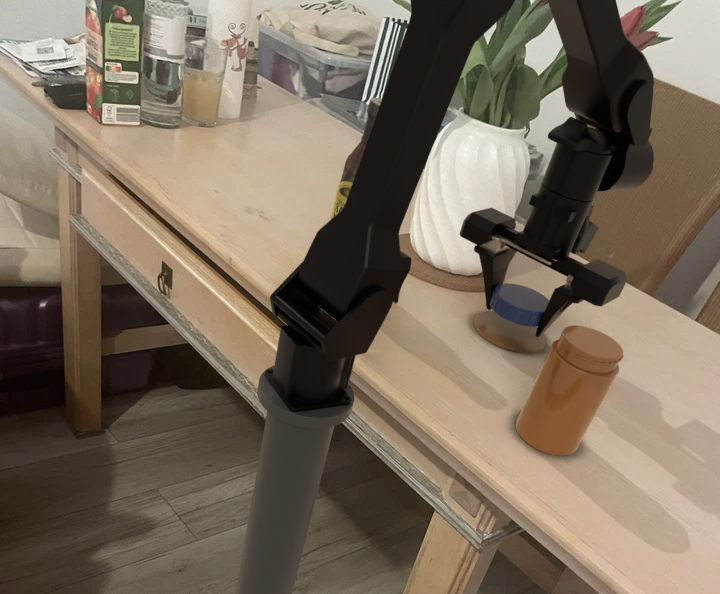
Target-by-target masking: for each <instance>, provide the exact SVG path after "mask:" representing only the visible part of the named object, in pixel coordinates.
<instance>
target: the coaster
mask: <svg viewBox="0 0 720 594" xmlns="http://www.w3.org/2000/svg"><path fill="white" fill-rule="evenodd" d="M473 327H474V329H475V331H476V332H477V334H479V336H481V337H482V338H483V339H484V340H486V341H487V342H489V343H491V344H493V345H495V346H497V347H499V348H502V349H504V350H507V351H511V352H514V353H520V354H535V353H539V352H540V351H542V350H543V349H544V348H545V346H546V343H547V340H546V339H547V338H546V337H545V335H544V333H543V334H542V335H541V336H539V337H537V336H535V334H536V331H537V327H530V326H523V325H519V324H516V323H513V322H511V321H508V320H506V319H504V318H502V317H501V316H499V315H498V314H497V313H495V312H494V311H484V312H480V313H478V314H477V315H476V316H475V317H474V319H473Z"/></svg>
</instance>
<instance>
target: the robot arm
mask: <svg viewBox="0 0 720 594" xmlns="http://www.w3.org/2000/svg"><path fill="white" fill-rule="evenodd" d="M515 1H516V0H410V17H409V20H408V24H407V27H406V29H405V32H404V36H403V38H402V41H401V44H400V47H399V50H398V53H397V56H396V58H395V61H394V64H393V66H392V70H391V72H390V75H389V77H388V81H387V84H386V86H385V90H384V93H383V95H382V101H381V104H380V107H379V109H378V112H377V115H376V118H375V121H374V124H373V126H372V129H371V132H370V135H369V138H368V141H367V144H366V146H365V149H364V152H363V155H362V158H361V161H360V164H359V166H358V169H357V172H356V175H355V178H354V181H353V183H352V186H351V189H350V192H349V195H348V198H347V201H346V203H345V205H344V207H343V209H342V210H341V211H340V212H339V213H338V214H337V215H335V216H334V217H333V218H332V219H331V218H330V219H331V220H330V219H329V221H327V222H326V223H325V224H324V225H323V226H322V227H320V228H319V229H318V230H317V232H316V234H315V236H314V238H313V240H312V242H311V244H310V246H309V249H308V250H307V252H306V255H305V256H304V258H303V260H302V261H301V263H300V264H298V266H296V268H295V269H294V270H293V271H292V272H291V273H290V274H289V275H288V276H287V277H286V278H285V279H284V280H283V281H282V282H281V283H280V285H278V287H277V288H275V290H274V291H273V292H272V293H271V294H270V295H269V301H270V307H271V313H272V315H274V316H275V317H276V318H278V319H280V320H281V321H282V322H283V323H284V324H286V325H281V326H280V330H279V337H278V343H277V347H276V354H275V360H274V365H273V366H274V369H268V368H266V369H264V371H265V373H264V376H265V377H266V379H267V380H268V381H269V383H270V384H271V385H272V387H273V388H274V390H275V391H276V392H277V394H278V395H279V396H280V398H281V399H282V401H283V402H284V403H285V405H286V406H287V407H288V409H289V410H290V411H292V412H302V411H309V410H316V409H323V408H330V407H338V406H345V405H350V404H351V400H352V399H351V397H350V396H349V395H348V394H347V393H346V391H345V390H344V389H345V388H347V387H348V384H349V383H350V380H351V376H352V372H353V368H354V365H355V361H356V356H359V355H362V354H366V353H368V351H369V349H370V347H371V345H372V343H373V342H374V340H375V338H376V336H377V334H378V333H379V331H380V329H381V327H382V326H383V323H384V322H385V320H386V318H387V317H388V314H389V313H390V310H391V308H392V306H393V303H394V304H398V303H399V300H400V293H401V289H402V286H403V284H404V282H405V280H406V278H407V277H408V275H409V273H410V271H411V269H412V258H411V257H410V256H409V255H407V253H405V252H403V251H402V250H401V244H400V230H401V227H402V225H403V222H404V219H405V217H406V214H407V212H408V209H409V207H410V204H411V203H412V200H413V197H414V194H415V192H416V189H417V187H418V184H419V181H420V179H421V177H422V174H423V172H424V169H425V167H426V165H427V162H428V160H429V156H430V154H431V151H432V149H433V146H434V144H435V143H436V140H437V137H438V134H439V131H440V129H441V127H442V124H443V121H444V119H445V117H446V114H447V111H448V109H449V106H450V105H451V102H452V99H453V96H454V94H455V92H456V89H457V87H458V84H459V82H460V79H461V77H462V75H463V71H464V69H465V66H466V64H467V62H468V58H469V56H470V54H471V51H472V49H473V47H474V45H475V43H476V42H477V41H478V40H479V39H480V38H481V37H482V36H484V35H485V34H486V33H487V32H488V31H489V30H490V29H491V28H492V27H493V26H494V25H495V24H497V22H499V21H500V20H501V19H502V18H503V17H504V16H505V15H506V14H507V13H508V12H509V11H510V10H511V9H512V8H513V5H514V3H515ZM547 3H548V6H549V9H550V12H551V14H552V17H553V20H554V24H555V26H556V29H557V32H558V35H559V38H560V41H561V43H562V46H563V49H564V52H565V56H566V61H567V63H566V65H565V68H564V70H563V71H562V73H561V85H562V91H563V97H564V103H565V107H566V108H567V110H568V111H569V112H571V113H573V115H574V116H575V117H573V116H569V117H568V118H567V119H566V120H565V121H564V122H563V123H561V124H559V125H556V126H555V127H553V129H551V130H550V131H549V132H548V134H547V139H548V140H550V141H552V142H554V143H555V146H554V149H553V152H552V154H551V157H550V160H549V162H548V164H547V166H546V170H545V173H544V175H543V178H542V180H541V183H540V185H539V188H538V191H537V193H534V194H531V196H530V200H529V202H528V205H530V206H531V209H530V212H529V214H528V217H527V220H526V222H525V225H524V227H523V230H521V231H518V230H516V227H517V222H516V218H514V217H513V216H510V215H507V214H506V213H503V212H502V211H500V210H498V209H496V208H493V207H488V208H483V209H479V210H475V211H472V212H470V213H469V214H468V215H466V217H465V218H464V219H463V221H462V225H461V228H460V231H459V236H460V238H462V239H465V240H466V241H468V242H470V243H472V244H474V247H473V252H474V253H476V254H478V257H479V261H480V266H481V271H482V277H483V284H484V285H483V286H484V296H485V297H484V298H485V308H486V310H488V311H490V310H492V308H491V307H490V299H491V297H492V294H493V291H494V290H495V288H496V286H497V285H499V284H504V281H505V278H506V275H507V273H508V269H509V266H510V263H511V262H512V260H513V259H514V257H515V256H516V254H517V253H520V254H521V255H523V256H526V257H527V258H529V259H531V260H533V261H535V262H537V263H539V264H541V265H543V266H545V267H546V268H549V269H551V270H552V271H555V272H557V273H559V274H561V275H563V276H565V277H566V279H565V284H562V285H559V286H558V287H555V288H554V290H553V291H552V294H551V296H550V298H549V299H548V300H549V303H548V305H547V307H546V309H545V311H544V314H543V316H542V318H541V320H540V322H539V324H538V326H537V327H536V328H537V331H536V334H535V336H537V337H539V336H541V335H542V334H543V335H544V333H545V332H547V330H548V329H549V328H550V327H551V326H552V325H553V324H554V323H555V322H556V321H557V319H559V317H561V315H562V314H563V313H564V312H565V311H566V310H567V309H568V308H569V307H570V306H571V305H572V304H576V305H577V304H580V303H582V302H584V301H585V302H587V303H589V304H590V305H593V306H595V307H596V306H597V307H603V306H605V305H607V304H608V303H611V302H612V301H614V300H616V299H618V298H619V297H620V296H621V293H622V292H623V290H624V288H625V286H626V283H627V276H626V272H625V271H623V270H621V269H619V268H617V267H615V266H613V265H611V264H609V263H607V262H605V261H603V260H601V259H599V258H596V259H595V260H592V261H589V262H588V263H587V262H586V263H583V262H581V261H579V260H577V259H575V258H573V257H571V256H570V254H573V255H576V254H577V255H578V254H579V253H581V254H586V252H587V250H588V248H589V247H590V245H591V243H592V241H593V239H594V238H595V236H596V235H597V232H598V231H599V227H598V226H597V225H596V224H595V223H594V222H593V221H591V220H590V219H591V216H592V214H593V210H594V205H592V204H593V202H594V200H595V197H596V194H597V192H613V191H629V190H634V189H636V188H639V187H640V186H641V185H643V184H645V182H646V181H647V180H648V178H650V175H651V174H652V173H653V169H654V162H655V152H654V149H653V146H652V143H651V142H650V136H651V134H652V131H653V128H652V127H651V119H652V109H653V100H654V86H655V79H654V72H653V69H652V68H651V65H650V63H649V61H648V59H647V58H646V56H645V53H643V52H642V51H641V50H640V49H639V48H638V47H637V46H636V45H635V44H634V43H633V42H632V41H631V40H629V38H628V37H627V34H626V33H625V31H624V27H623V23H622V20H621V19H622V18H621V14H620V11H619V7H618V3H617V0H547ZM349 385H350V384H349Z"/></svg>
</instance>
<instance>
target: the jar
mask: <svg viewBox="0 0 720 594" xmlns="http://www.w3.org/2000/svg"><path fill="white" fill-rule="evenodd" d="M624 356H625V355H624V350H623V347H622V346H621V345H620V343H619V342H617V340H615V339H614V338H612V337H611V336H609V335H608V334H606V333H604V332H602V331H600V330H597V329H594V328H592V327H588V326H583V325H568V326H566V327H565V328H563V330H562V332H561V334H560V336H559V338H558V339H556V340H554V341H553V342H552V343H551V345H550V347H549V349H548V351H547V353H546V355H545V358H544V360H543V363H542V364H541V367H540V369H539V371H538V374H537V376H536V378H535V380H534V382H533V385H532V386H531V388H530V391H529V393H528V395H527V397H526V400H525V401H524V403H523V406H522V408H521V410H520V412H519V415H518V417H517V418H516V421H515V429H516V432H517V434H518V436H519V437H520V438H521V439H522V440H523V441H524V442H525V443H526V444H528V445H529V446H531V447H532V448H534V449H536V450H538V451H540V452H542V453H546V454H548V455H553V456H569V455H572V454H574V453H575V452H576V451H577V450H578V448H579V447H580V445H581V443H582V441H583V439H584V437H585V435H586V433H587V432H588V430H589V428H590V426H591V424H592V422H593V421H594V418H595V417H596V415H597V413H598V412H599V409H600V408H601V406H602V404H603V402H604V400H605V398H606V396H607V395H608V393H609V392H610V390H611V387H612V386H613V384H614V382H615V381H616V379H617V376H618V375H619V373H620V366H619V363H620V362H622V360H623V358H624Z"/></svg>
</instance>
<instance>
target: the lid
mask: <svg viewBox="0 0 720 594" xmlns="http://www.w3.org/2000/svg"><path fill="white" fill-rule="evenodd" d="M549 300H550V299H549V298H548V297H547V296H545V295H544V294H543V293H540V292H539V291H537V290H535V289H533V288H530V287H528V286H526V285H525V286H524V285H521V284H517V283H511V282H510V283H507V282H505V283H504V282H503V284H499V285H497V286H496V288H495V290H494V291H493V294H492V297H491V299H490V307H491V308H492V309H491V310H492V312H495V313H497V314H498V315H499V316H501V317H502V318H504V319H506V320H508V321H511V322H513V323H516V324H519V325H523V326H530V327H536V328H537V327H538V324H539V322H540V320H541V318H542V316H543V314H544V311H545V309H546V307H547V305H548V303H549Z"/></svg>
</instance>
